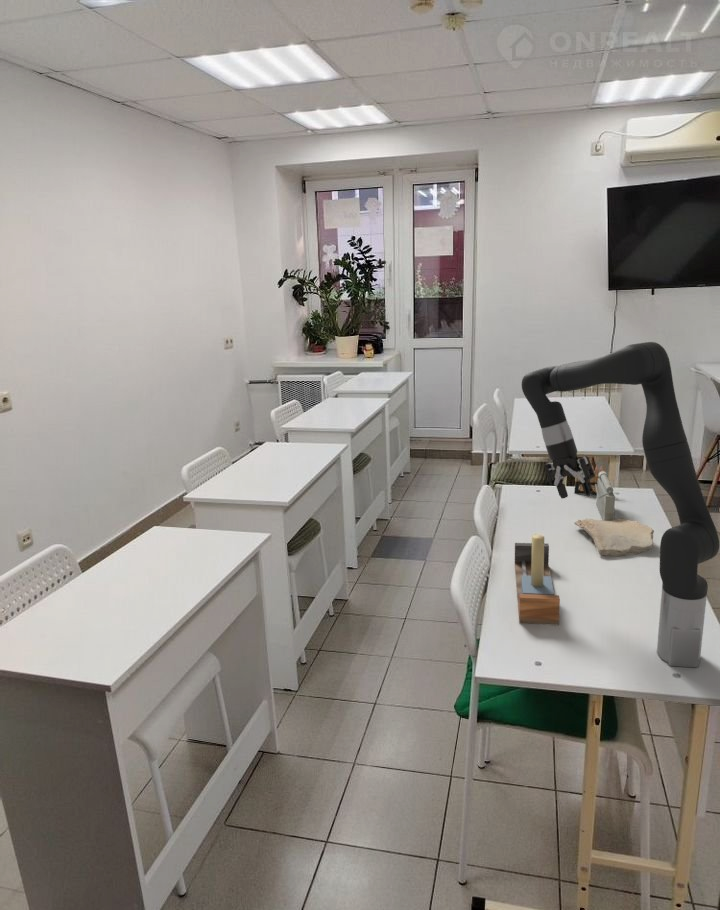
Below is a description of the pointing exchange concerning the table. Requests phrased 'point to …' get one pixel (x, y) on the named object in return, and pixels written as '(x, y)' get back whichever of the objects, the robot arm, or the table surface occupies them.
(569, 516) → the table surface
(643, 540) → the beige bone fragment
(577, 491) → the ammunition clip
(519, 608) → the rail
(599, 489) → the geiger counter
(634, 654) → the table surface
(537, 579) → the carriage
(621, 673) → the table surface
